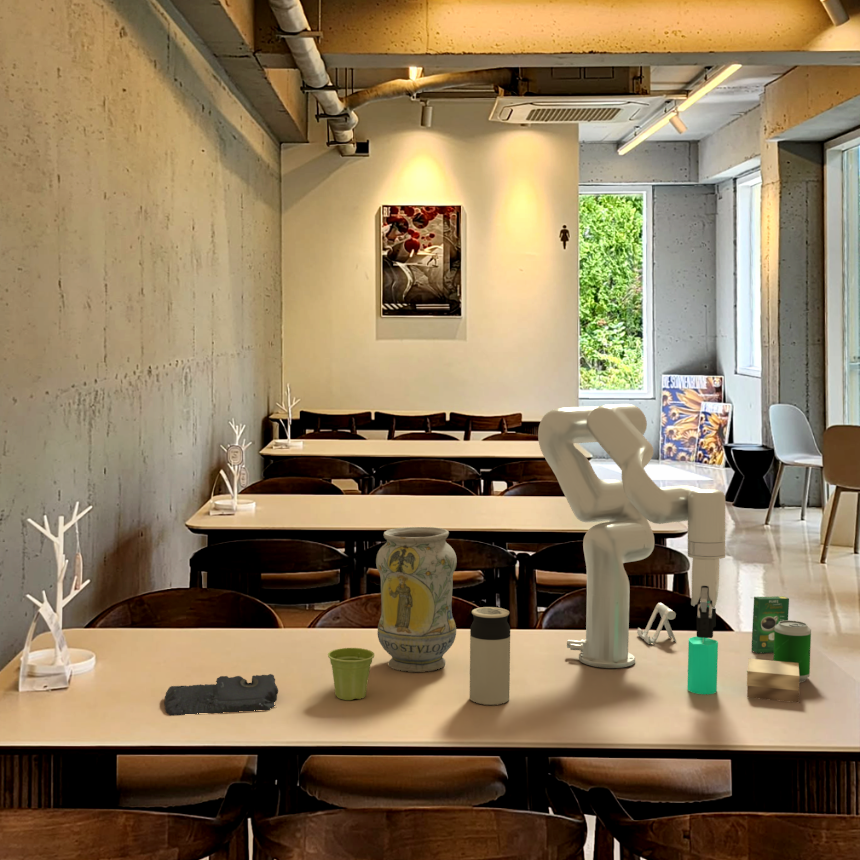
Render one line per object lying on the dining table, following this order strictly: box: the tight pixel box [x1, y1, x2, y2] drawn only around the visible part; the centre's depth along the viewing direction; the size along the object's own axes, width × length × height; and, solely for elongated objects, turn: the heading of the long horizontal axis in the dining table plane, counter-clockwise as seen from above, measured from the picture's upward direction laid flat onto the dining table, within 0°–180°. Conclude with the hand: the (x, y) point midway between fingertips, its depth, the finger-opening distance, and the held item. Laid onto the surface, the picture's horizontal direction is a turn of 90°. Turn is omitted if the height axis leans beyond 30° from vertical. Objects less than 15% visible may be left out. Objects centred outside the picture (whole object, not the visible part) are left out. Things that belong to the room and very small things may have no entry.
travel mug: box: [469, 606, 511, 706], centre depth 218 cm, size 8×8×18 cm
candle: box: [686, 635, 719, 695], centre depth 226 cm, size 6×6×12 cm
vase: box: [375, 526, 458, 673], centre depth 243 cm, size 18×18×30 cm
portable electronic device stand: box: [636, 602, 677, 645], centre depth 266 cm, size 9×8×8 cm
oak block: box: [746, 658, 800, 692], centre depth 225 cm, size 10×10×3 cm
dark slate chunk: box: [164, 673, 279, 716], centre depth 216 cm, size 15×22×5 cm
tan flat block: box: [746, 685, 800, 703], centre depth 225 cm, size 10×10×3 cm
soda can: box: [772, 619, 812, 683], centre depth 235 cm, size 8×8×12 cm
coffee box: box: [750, 595, 790, 654], centre depth 256 cm, size 8×3×13 cm, turn 103°
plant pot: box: [327, 647, 375, 701], centre depth 220 cm, size 9×9×9 cm
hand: (706, 632), depth 225 cm, fingers open, 9 cm apart
